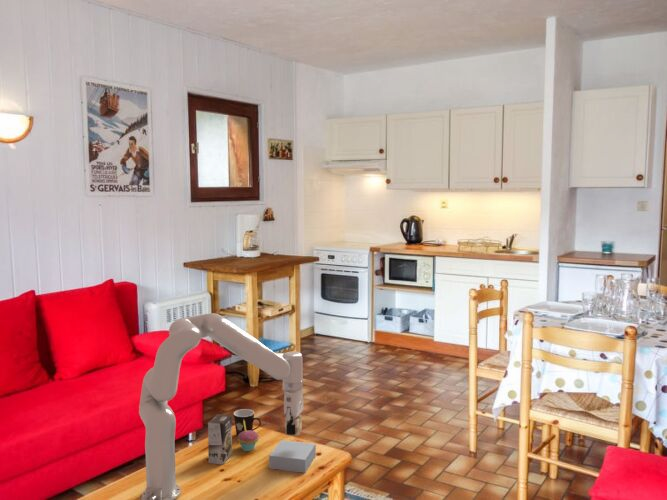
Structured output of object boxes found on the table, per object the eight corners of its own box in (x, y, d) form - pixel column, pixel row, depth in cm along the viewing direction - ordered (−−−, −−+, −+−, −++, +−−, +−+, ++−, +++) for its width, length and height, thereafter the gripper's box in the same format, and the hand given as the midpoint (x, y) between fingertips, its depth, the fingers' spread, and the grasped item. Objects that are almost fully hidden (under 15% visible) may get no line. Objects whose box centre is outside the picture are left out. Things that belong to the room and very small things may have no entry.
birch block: (297, 435, 220) (297, 420, 219) (285, 434, 221) (284, 419, 220) (301, 430, 225) (301, 415, 224) (289, 429, 226) (289, 414, 225)
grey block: (305, 472, 216) (305, 459, 215) (269, 468, 219) (269, 455, 218) (315, 456, 229) (315, 443, 229) (281, 452, 232) (281, 440, 232)
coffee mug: (230, 435, 248) (229, 412, 247) (247, 429, 254) (246, 407, 253) (245, 444, 239) (244, 420, 238) (262, 438, 245) (262, 415, 244)
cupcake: (233, 451, 233) (233, 422, 232) (243, 442, 241) (242, 414, 240) (253, 454, 230) (253, 424, 229) (262, 445, 238) (262, 416, 237)
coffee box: (224, 464, 222) (223, 423, 220) (208, 463, 223) (207, 422, 221) (232, 454, 231) (232, 414, 229) (217, 452, 232) (216, 413, 230)
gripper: (295, 393, 212) (296, 441, 214) (308, 378, 228) (309, 423, 230) (275, 391, 213) (276, 439, 215) (290, 377, 230) (290, 421, 232)
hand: (293, 430), depth 223 cm, fingers closed on birch block, 5 cm apart
